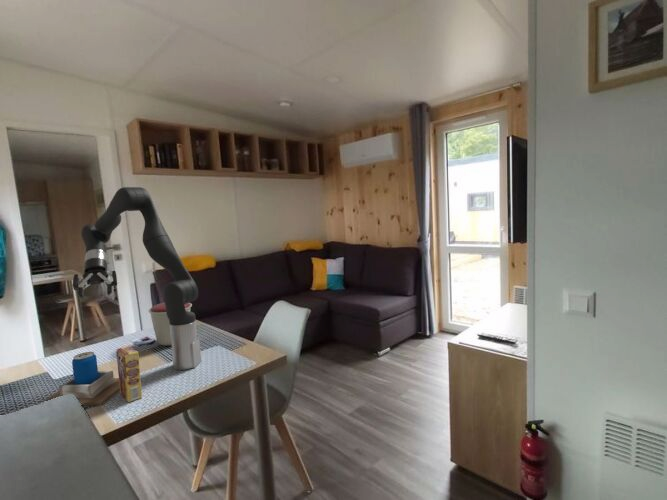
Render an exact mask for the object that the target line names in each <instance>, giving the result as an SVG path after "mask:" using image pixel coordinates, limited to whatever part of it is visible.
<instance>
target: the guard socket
mask: <svg viewBox="0 0 667 500" xmlns="http://www.w3.org/2000/svg"><path fill="white" fill-rule="evenodd" d="M98 376H99V379H98V380H96V381H95V382H93V383H92V384H87V385H75V382H74V377H72V378H71V379H69V380H68V381H66V382H64V383H63V384H61V385H60V386H58V391H57V392H55V393H53V394H51V395H50V396H49V397H47V398H45V399H44V400H42V401H41V402H44V401H48V400H51V399H53V398H56V397H59V396H63V395H67V394H73V395H75V396H76V398H77V399H78V400H79V402H80V403H81V404H82V405H83V406H82V407H89V406H90V407H94V406H95V407H96V406H99V407H100V406H103V405H104V404H106V403H107V402H109V400H110V399H111V398H113V397H114V396H115V395H117V394H118V393H120V385H119V377H114V376H115V375H114V370H98ZM41 402H39V403H41Z"/></svg>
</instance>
